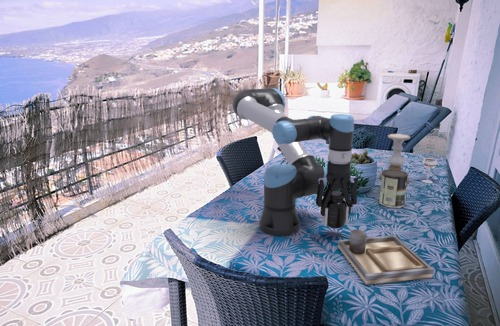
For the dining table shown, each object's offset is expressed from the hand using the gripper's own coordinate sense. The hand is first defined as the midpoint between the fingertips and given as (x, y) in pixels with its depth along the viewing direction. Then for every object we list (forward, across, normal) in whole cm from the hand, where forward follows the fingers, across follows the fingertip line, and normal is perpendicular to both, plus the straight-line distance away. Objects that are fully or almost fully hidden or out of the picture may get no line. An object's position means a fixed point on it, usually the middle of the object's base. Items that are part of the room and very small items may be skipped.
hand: (334, 222), depth 119 cm
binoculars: (+6, +3, +76) cm, 76 cm away
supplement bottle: (+1, 0, 0) cm, 1 cm away
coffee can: (+5, +35, +22) cm, 42 cm away
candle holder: (+5, +52, +50) cm, 72 cm away
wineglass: (+5, +68, +46) cm, 82 cm away
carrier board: (+4, +8, -18) cm, 21 cm away
